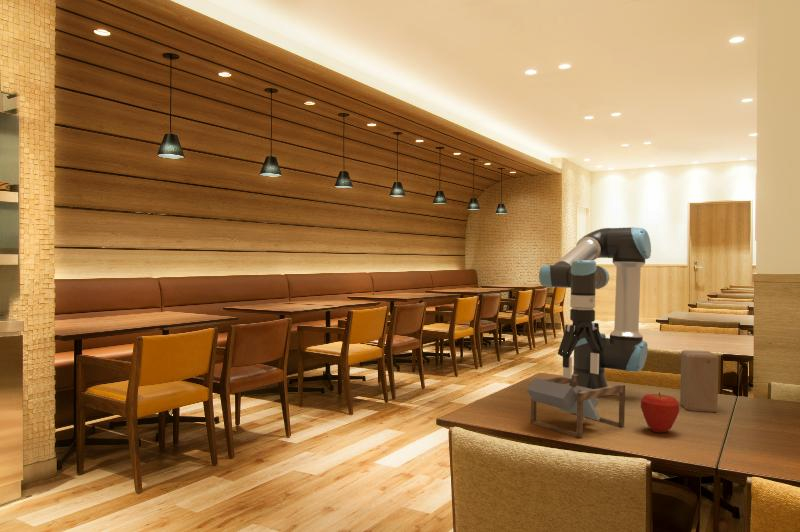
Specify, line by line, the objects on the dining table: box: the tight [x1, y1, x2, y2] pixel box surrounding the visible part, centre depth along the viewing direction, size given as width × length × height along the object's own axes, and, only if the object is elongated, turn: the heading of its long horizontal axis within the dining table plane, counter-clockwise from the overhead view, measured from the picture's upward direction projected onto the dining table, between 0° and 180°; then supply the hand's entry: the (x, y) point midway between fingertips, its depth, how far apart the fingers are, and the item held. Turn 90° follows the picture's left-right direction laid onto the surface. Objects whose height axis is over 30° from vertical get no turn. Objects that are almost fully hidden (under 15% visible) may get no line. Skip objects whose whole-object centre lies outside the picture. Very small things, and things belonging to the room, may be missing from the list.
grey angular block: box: [526, 377, 601, 422], centre depth 180 cm, size 17×16×9 cm
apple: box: [640, 391, 680, 433], centre depth 178 cm, size 11×11×12 cm
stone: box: [575, 386, 599, 408], centre depth 185 cm, size 6×6×7 cm
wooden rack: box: [530, 374, 626, 439], centre depth 184 cm, size 22×19×13 cm
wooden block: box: [679, 349, 720, 413], centre depth 207 cm, size 10×10×20 cm
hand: (581, 375), depth 185 cm, fingers open, 13 cm apart
